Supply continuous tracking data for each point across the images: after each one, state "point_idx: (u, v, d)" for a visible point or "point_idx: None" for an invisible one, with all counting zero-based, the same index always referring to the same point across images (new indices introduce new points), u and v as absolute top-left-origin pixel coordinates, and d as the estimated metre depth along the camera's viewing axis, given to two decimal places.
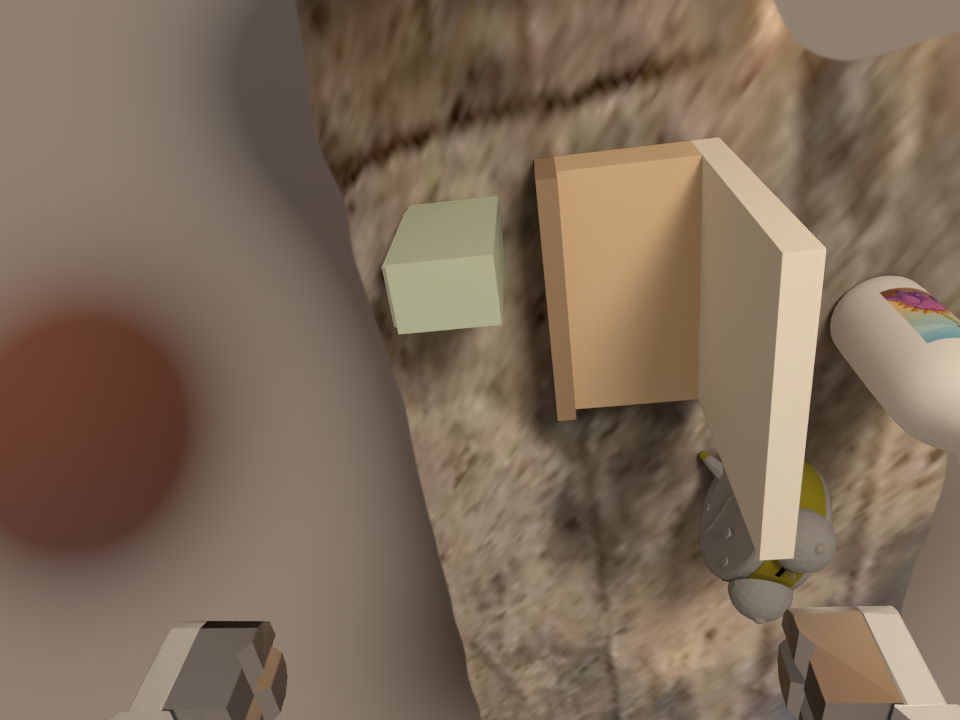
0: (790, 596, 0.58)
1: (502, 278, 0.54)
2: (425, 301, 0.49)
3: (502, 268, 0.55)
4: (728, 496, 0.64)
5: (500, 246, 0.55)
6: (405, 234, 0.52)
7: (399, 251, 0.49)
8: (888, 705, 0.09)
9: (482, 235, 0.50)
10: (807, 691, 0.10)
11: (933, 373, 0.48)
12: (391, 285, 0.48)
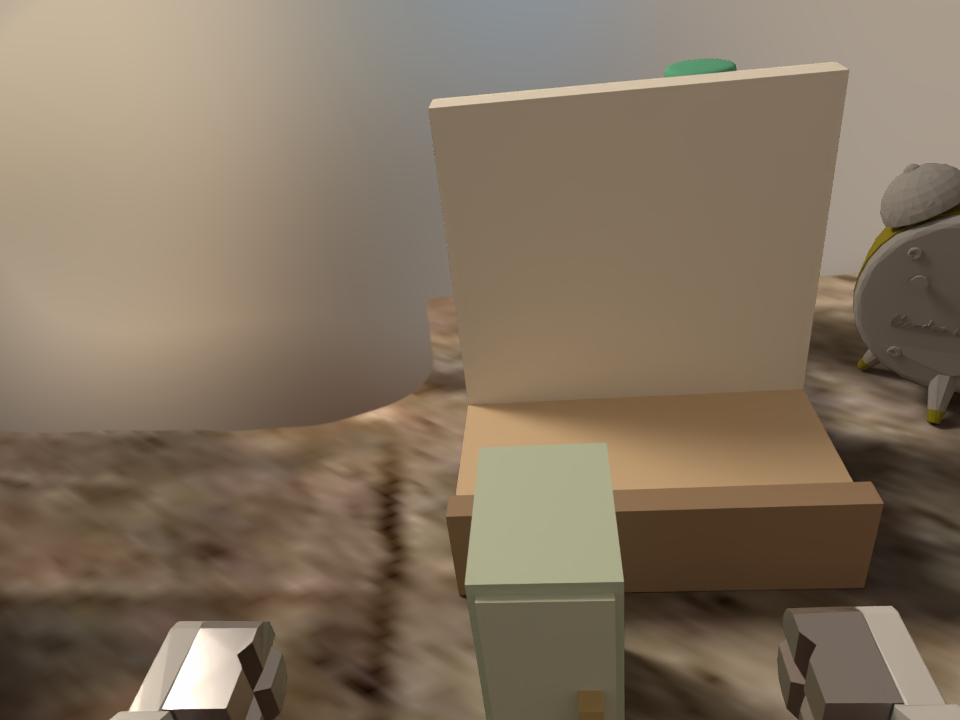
0: None
1: None
2: (551, 532, 0.25)
3: None
4: (955, 337, 0.44)
5: None
6: None
7: None
8: (888, 705, 0.09)
9: None
10: (807, 691, 0.10)
11: None
12: (509, 579, 0.24)
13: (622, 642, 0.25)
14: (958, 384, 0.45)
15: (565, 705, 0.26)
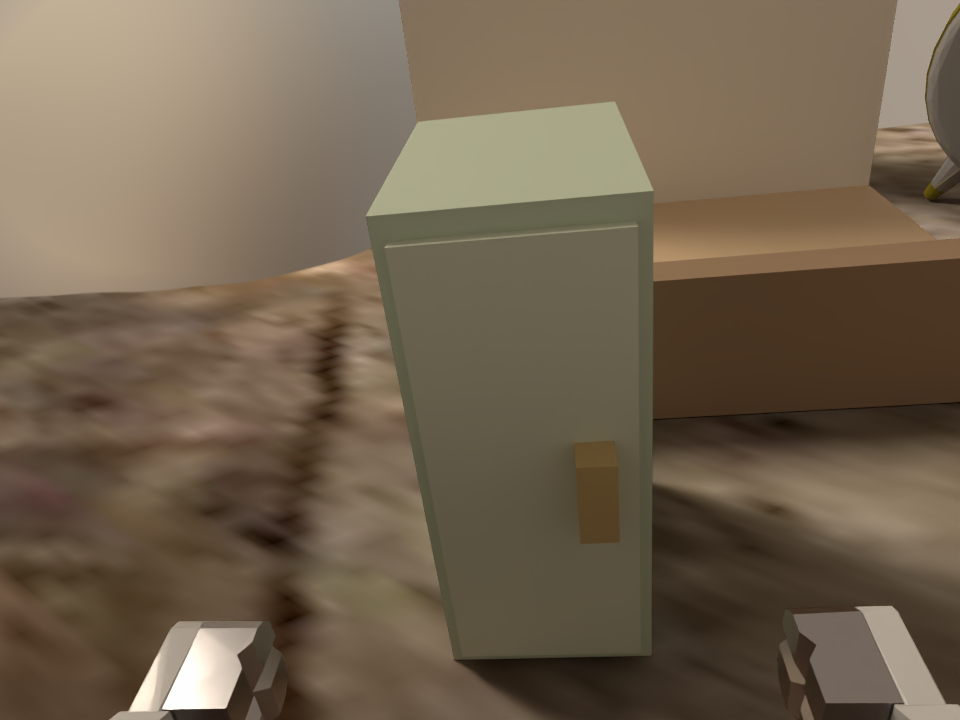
0: None
1: None
2: (524, 165, 0.15)
3: None
4: None
5: None
6: None
7: None
8: (888, 705, 0.09)
9: None
10: (807, 691, 0.10)
11: None
12: (445, 205, 0.13)
13: (649, 339, 0.14)
14: None
15: (553, 476, 0.16)
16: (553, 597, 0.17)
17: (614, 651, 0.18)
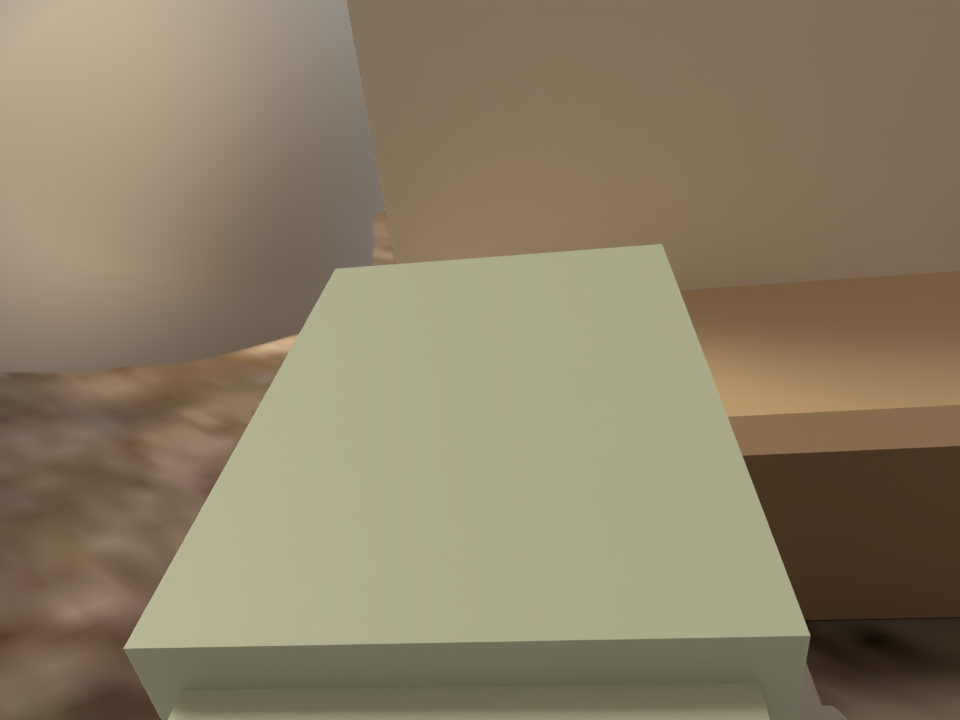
0: None
1: None
2: (500, 451, 0.07)
3: None
4: None
5: None
6: None
7: None
8: None
9: None
10: None
11: None
12: (310, 623, 0.06)
13: None
14: None
15: None
16: None
17: None
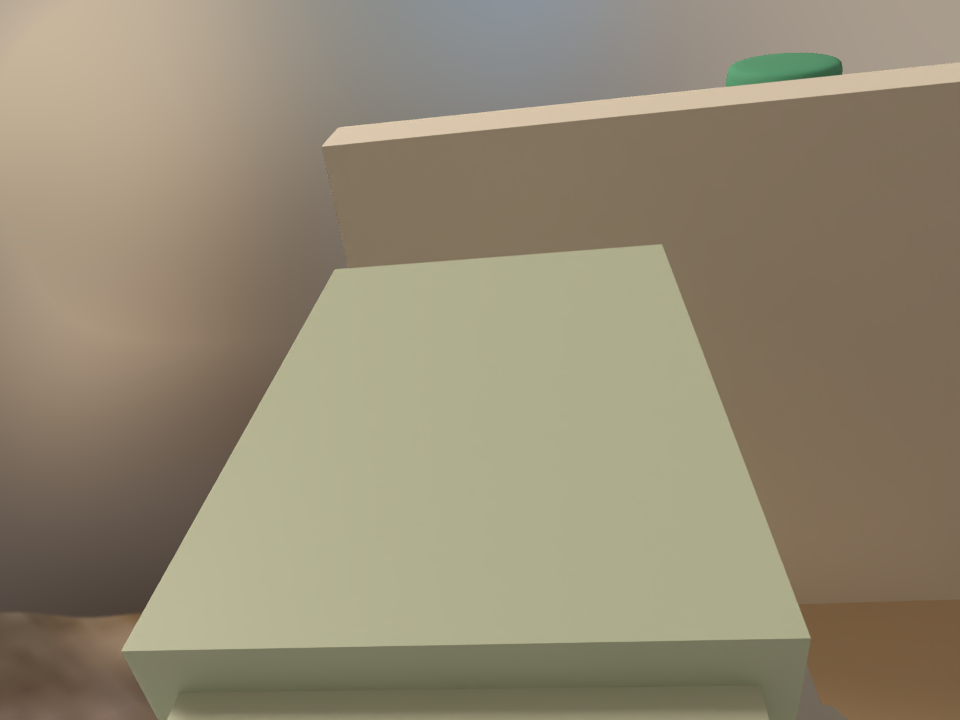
0: None
1: None
2: (499, 452, 0.07)
3: None
4: None
5: None
6: None
7: None
8: None
9: None
10: None
11: None
12: (309, 625, 0.06)
13: None
14: None
15: None
16: None
17: None
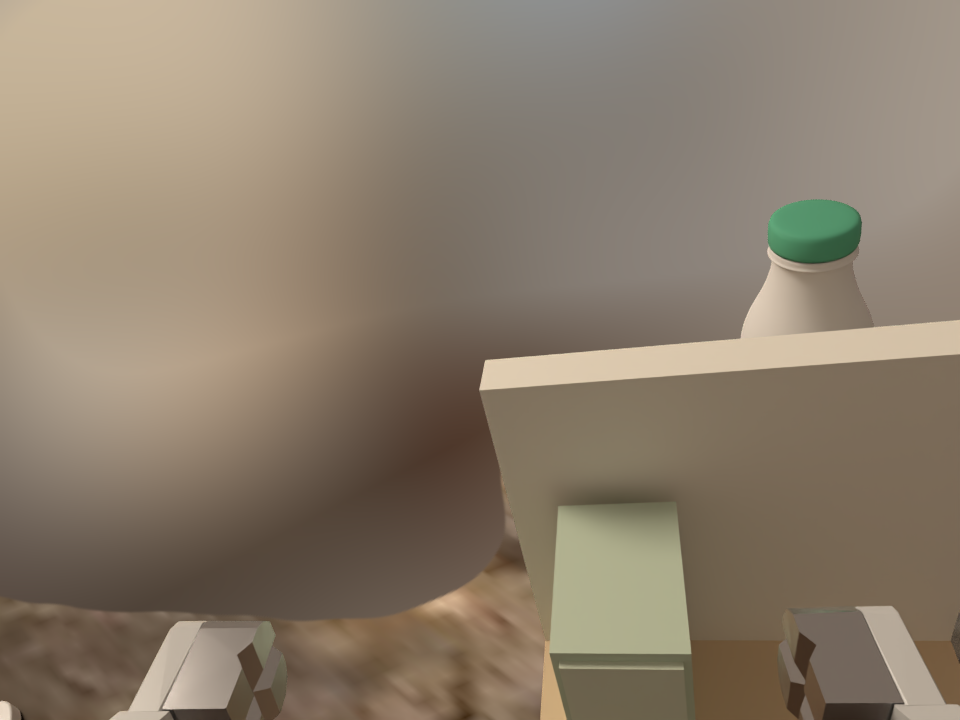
0: None
1: None
2: (625, 600, 0.28)
3: None
4: None
5: None
6: None
7: None
8: (888, 705, 0.09)
9: None
10: (807, 691, 0.10)
11: None
12: (588, 648, 0.27)
13: (692, 697, 0.28)
14: None
15: None
16: None
17: None
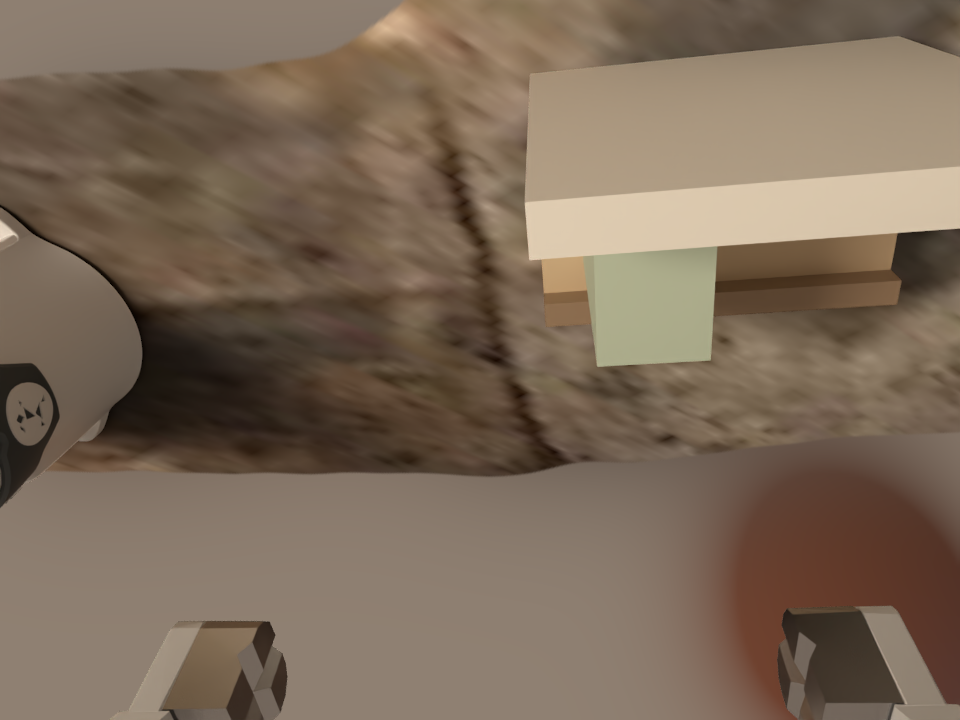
0: None
1: None
2: (660, 319, 0.32)
3: None
4: None
5: None
6: (589, 300, 0.38)
7: (593, 329, 0.35)
8: (888, 705, 0.09)
9: None
10: (807, 691, 0.10)
11: None
12: (628, 361, 0.33)
13: None
14: None
15: None
16: None
17: None
